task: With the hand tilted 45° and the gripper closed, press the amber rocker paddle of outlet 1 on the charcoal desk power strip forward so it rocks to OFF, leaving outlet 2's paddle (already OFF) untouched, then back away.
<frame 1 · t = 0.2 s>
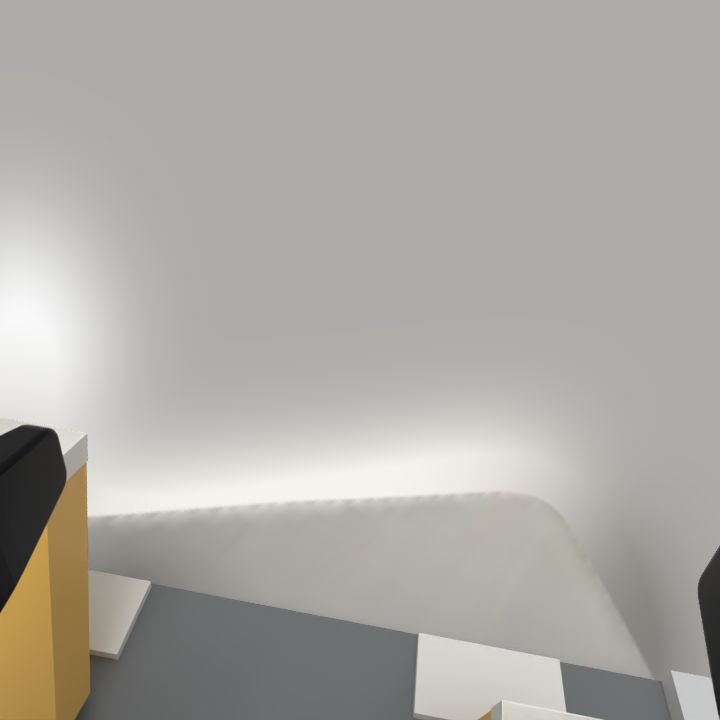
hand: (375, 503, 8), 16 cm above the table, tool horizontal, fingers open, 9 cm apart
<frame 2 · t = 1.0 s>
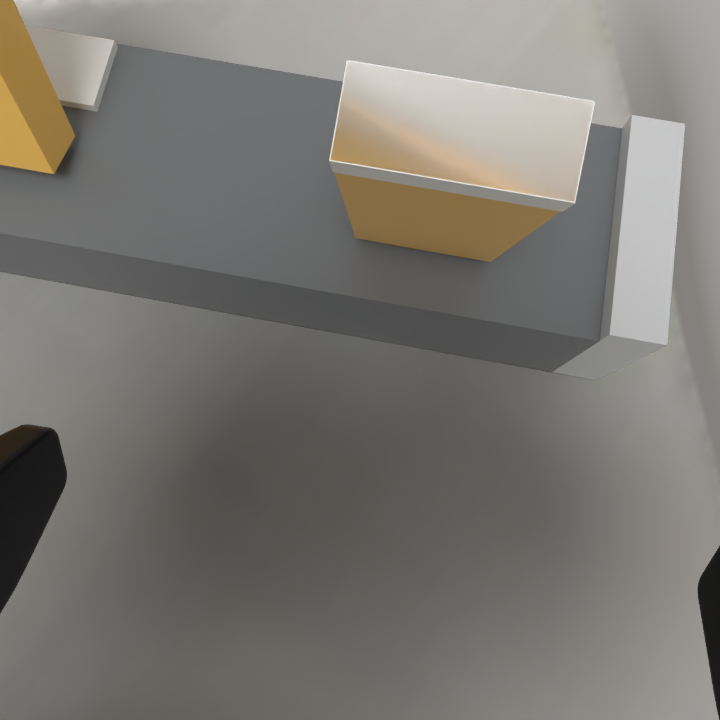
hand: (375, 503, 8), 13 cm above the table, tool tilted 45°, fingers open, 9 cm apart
power strip: (261, 228, 23), on the table
outlet 1 rocker: (439, 190, 14), point 9 cm above the table, hinge at -15.0°
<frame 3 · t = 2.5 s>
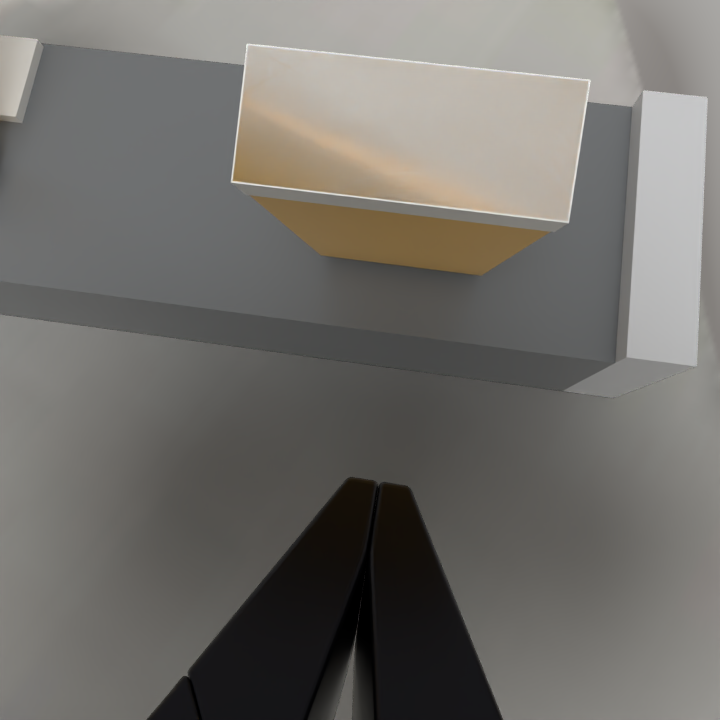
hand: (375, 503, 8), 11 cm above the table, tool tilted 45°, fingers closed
power strip: (226, 242, 21), on the table
outlet 1 rocker: (405, 200, 11), point 9 cm above the table, hinge at -15.0°
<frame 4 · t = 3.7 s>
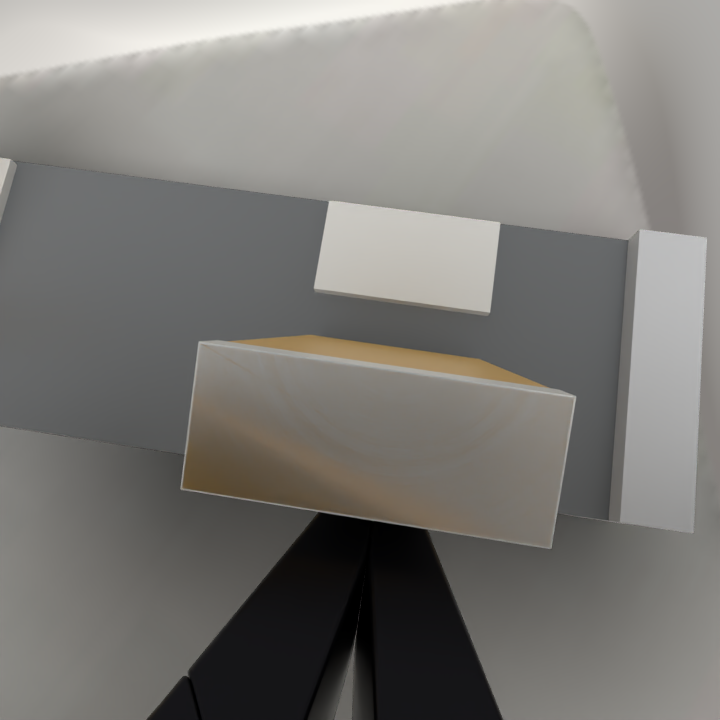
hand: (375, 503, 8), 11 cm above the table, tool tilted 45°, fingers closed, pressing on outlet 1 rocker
power strip: (209, 348, 20), on the table
outlet 1 rocker: (384, 400, 11), point 9 cm above the table, hinge at -15.0°, touching gripper
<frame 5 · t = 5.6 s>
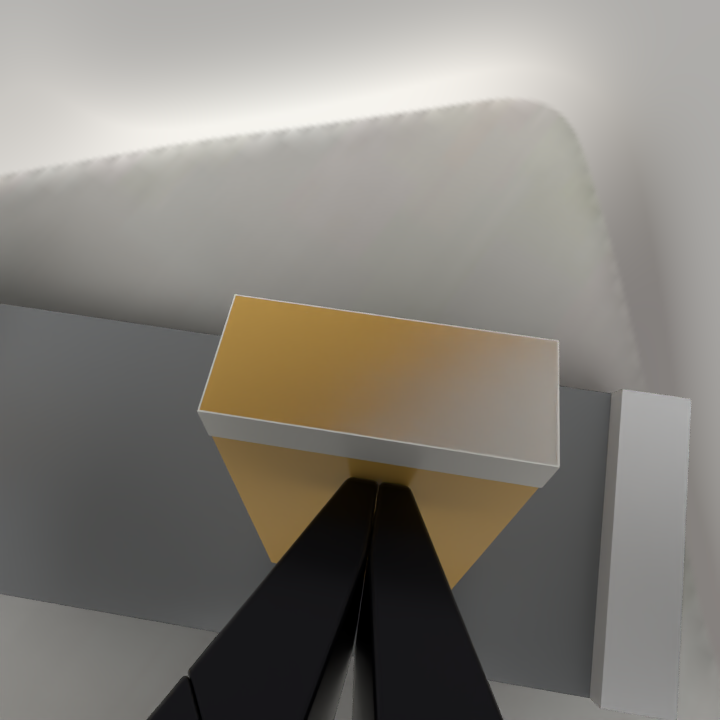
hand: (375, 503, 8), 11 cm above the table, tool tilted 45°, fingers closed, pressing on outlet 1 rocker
power strip: (186, 469, 20), on the table
outlet 1 rocker: (371, 485, 11), point 9 cm above the table, hinge at 17.8°, touching gripper
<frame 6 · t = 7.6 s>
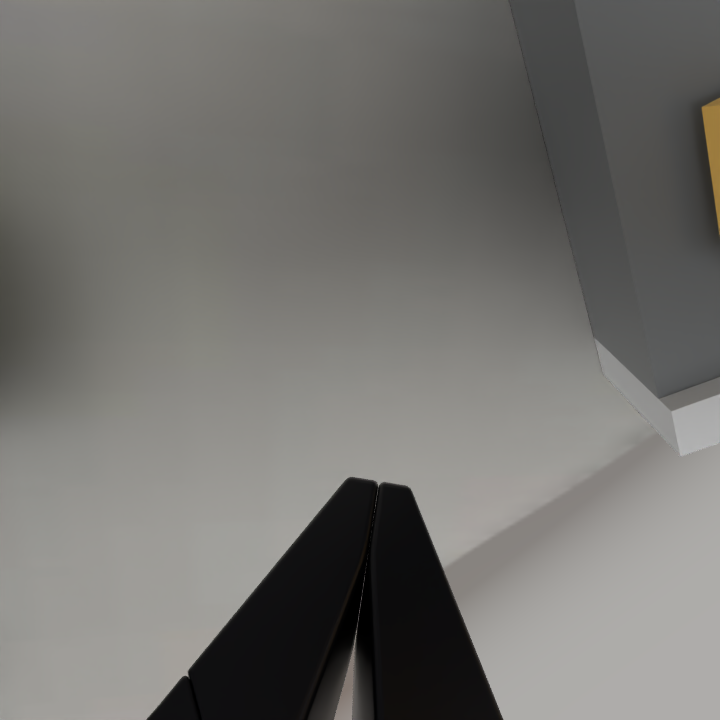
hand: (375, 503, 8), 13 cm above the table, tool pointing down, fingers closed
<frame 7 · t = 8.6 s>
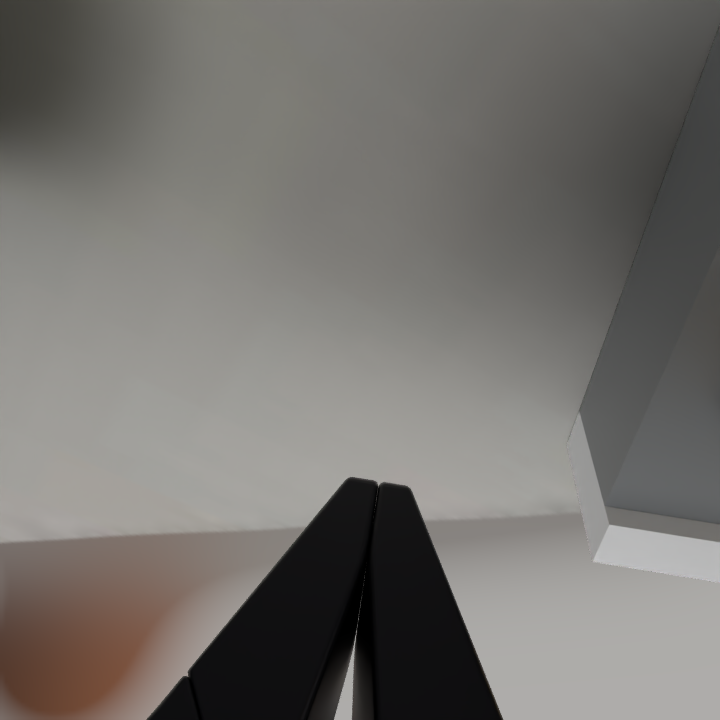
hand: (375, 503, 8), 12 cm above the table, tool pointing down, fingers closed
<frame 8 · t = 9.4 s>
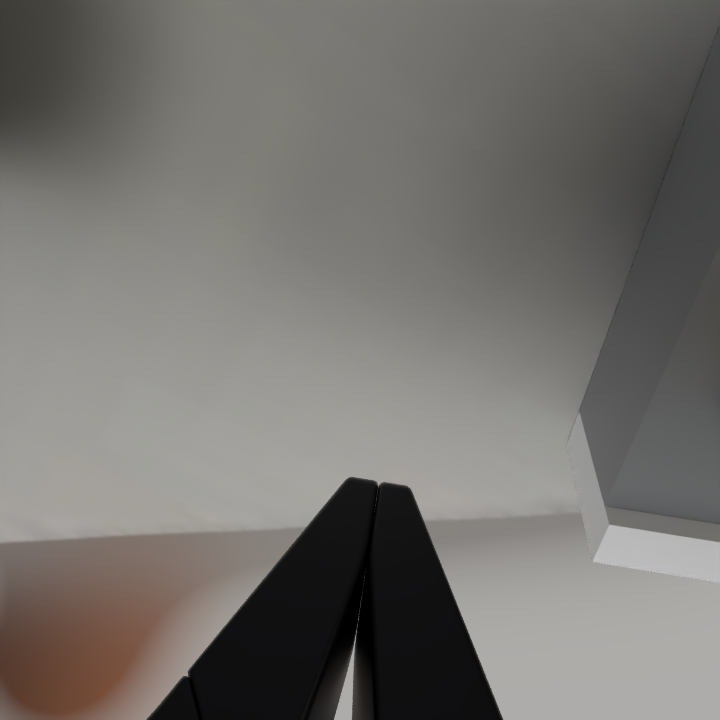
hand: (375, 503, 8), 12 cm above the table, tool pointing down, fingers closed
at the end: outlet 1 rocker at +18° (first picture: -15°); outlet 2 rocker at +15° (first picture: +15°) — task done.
